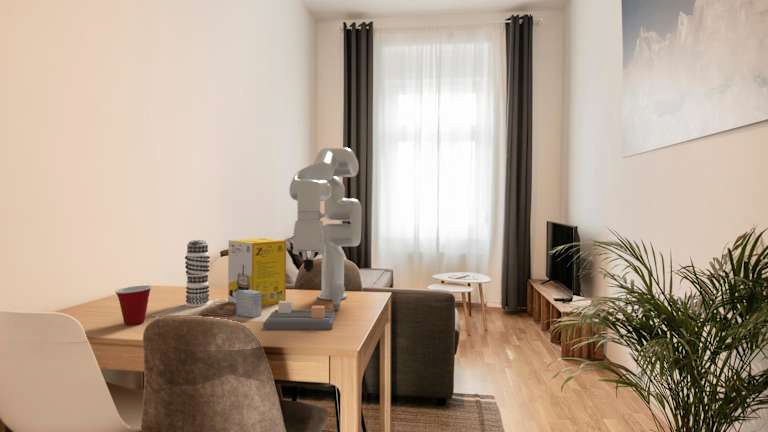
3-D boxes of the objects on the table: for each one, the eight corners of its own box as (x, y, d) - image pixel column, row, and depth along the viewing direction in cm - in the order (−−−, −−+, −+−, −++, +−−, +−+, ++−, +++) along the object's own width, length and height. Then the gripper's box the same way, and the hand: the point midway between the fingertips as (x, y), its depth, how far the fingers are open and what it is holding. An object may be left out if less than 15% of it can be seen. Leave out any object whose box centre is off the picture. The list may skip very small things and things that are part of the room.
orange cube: (312, 317, 154) (312, 305, 154) (324, 317, 154) (324, 305, 154) (311, 319, 151) (311, 307, 151) (323, 319, 151) (323, 307, 151)
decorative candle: (189, 308, 174) (189, 242, 173) (181, 303, 181) (181, 240, 180) (213, 304, 180) (213, 241, 179) (204, 300, 187) (205, 239, 186)
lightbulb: (341, 312, 171) (342, 283, 170) (326, 311, 172) (326, 282, 171) (346, 308, 177) (346, 280, 176) (331, 307, 178) (331, 279, 177)
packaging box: (228, 301, 186) (228, 240, 185) (262, 295, 198) (262, 238, 197) (251, 308, 175) (251, 243, 174) (285, 301, 187) (286, 240, 187)
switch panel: (272, 317, 163) (272, 308, 163) (334, 317, 164) (334, 308, 164) (263, 329, 148) (263, 319, 148) (332, 329, 149) (332, 320, 149)
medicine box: (261, 315, 165) (261, 291, 165) (253, 318, 161) (253, 293, 161) (244, 312, 168) (244, 289, 168) (235, 315, 164) (235, 291, 164)
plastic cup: (127, 318, 158) (126, 283, 157) (158, 319, 157) (158, 284, 157) (107, 327, 147) (106, 290, 146) (140, 328, 146) (140, 291, 146)
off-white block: (279, 312, 160) (279, 300, 160) (291, 312, 160) (291, 300, 160) (278, 314, 157) (278, 302, 157) (290, 314, 157) (290, 302, 157)
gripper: (332, 216, 157) (331, 269, 158) (288, 215, 156) (287, 269, 158) (330, 217, 150) (330, 273, 151) (284, 217, 149) (284, 273, 150)
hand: (308, 271), depth 154 cm, fingers closed
